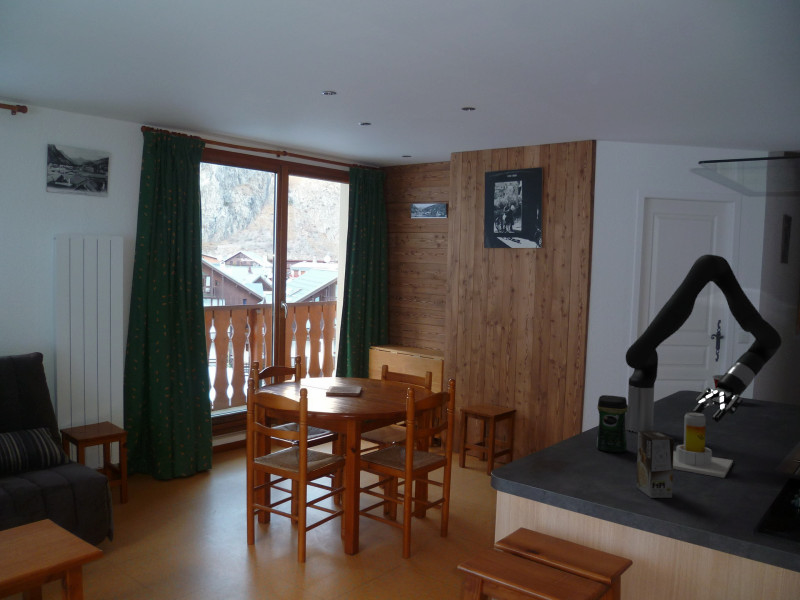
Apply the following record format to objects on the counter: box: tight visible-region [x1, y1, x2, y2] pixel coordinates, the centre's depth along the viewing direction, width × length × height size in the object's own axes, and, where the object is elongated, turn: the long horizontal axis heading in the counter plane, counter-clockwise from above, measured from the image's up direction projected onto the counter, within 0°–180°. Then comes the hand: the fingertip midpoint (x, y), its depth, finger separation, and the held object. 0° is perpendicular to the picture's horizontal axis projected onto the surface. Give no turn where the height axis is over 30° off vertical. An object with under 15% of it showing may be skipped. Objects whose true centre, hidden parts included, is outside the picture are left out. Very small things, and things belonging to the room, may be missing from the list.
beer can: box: [683, 411, 707, 452], centre depth 202 cm, size 6×6×15 cm
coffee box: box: [636, 430, 675, 499], centre depth 175 cm, size 9×6×16 cm
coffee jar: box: [596, 394, 628, 453], centre depth 217 cm, size 10×8×19 cm
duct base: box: [673, 443, 733, 479], centre depth 202 cm, size 20×18×5 cm
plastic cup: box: [712, 374, 724, 389], centre depth 304 cm, size 11×11×12 cm
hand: (704, 417), depth 203 cm, fingers open, 8 cm apart
